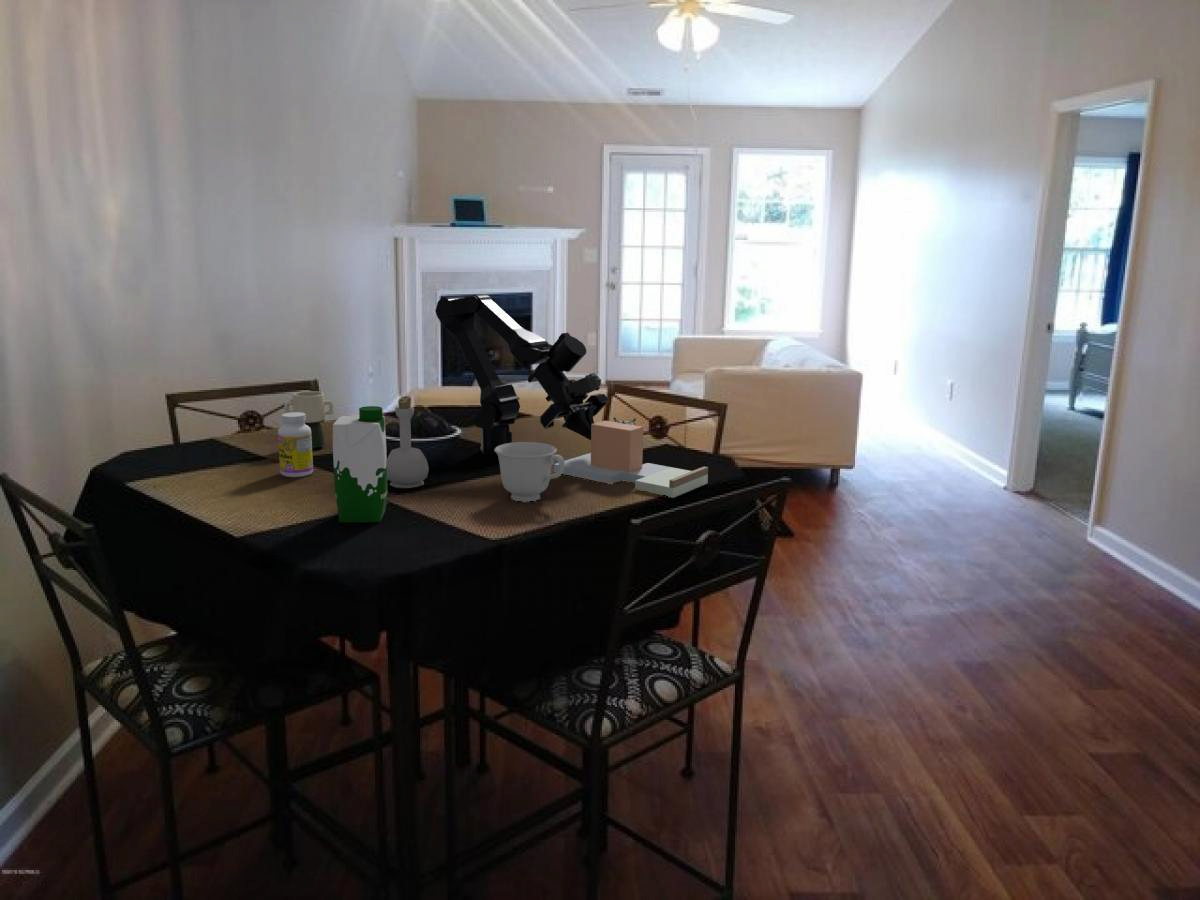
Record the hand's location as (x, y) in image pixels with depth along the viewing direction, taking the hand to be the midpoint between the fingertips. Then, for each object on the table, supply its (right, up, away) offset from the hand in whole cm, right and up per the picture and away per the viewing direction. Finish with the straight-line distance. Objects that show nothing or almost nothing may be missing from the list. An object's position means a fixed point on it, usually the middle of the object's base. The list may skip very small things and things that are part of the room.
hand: (596, 440), depth 202 cm
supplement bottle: (-63, -7, -5) cm, 64 cm away
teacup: (-13, -12, -20) cm, 27 cm away
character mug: (-67, -2, +18) cm, 70 cm away
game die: (+6, -3, +21) cm, 22 cm away
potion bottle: (-39, -9, -11) cm, 41 cm away
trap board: (+7, -8, -3) cm, 11 cm away
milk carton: (-42, -14, -33) cm, 56 cm away
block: (+4, -6, -2) cm, 7 cm away
